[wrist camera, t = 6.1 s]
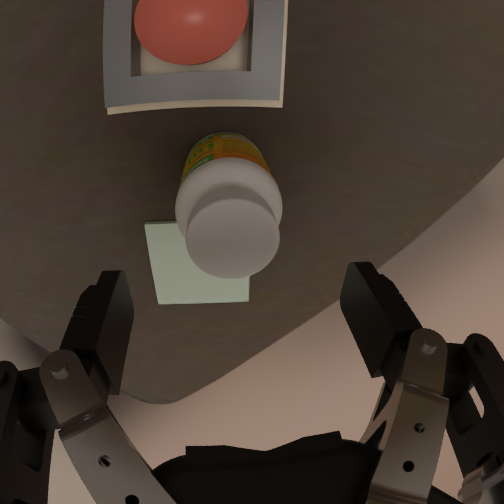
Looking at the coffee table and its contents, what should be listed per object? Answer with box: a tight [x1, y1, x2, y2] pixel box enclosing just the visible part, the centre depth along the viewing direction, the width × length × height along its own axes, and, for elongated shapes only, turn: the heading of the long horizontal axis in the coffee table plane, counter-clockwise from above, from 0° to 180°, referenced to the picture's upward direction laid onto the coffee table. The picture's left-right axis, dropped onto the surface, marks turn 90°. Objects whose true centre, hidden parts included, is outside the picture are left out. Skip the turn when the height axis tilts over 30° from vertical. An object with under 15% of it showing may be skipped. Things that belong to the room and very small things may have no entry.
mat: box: [144, 221, 249, 304], centre depth 25 cm, size 8×8×1 cm
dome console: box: [103, 0, 288, 115], centre depth 14 cm, size 11×11×4 cm
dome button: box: [134, 0, 248, 65], centre depth 13 cm, size 6×6×3 cm
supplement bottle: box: [175, 132, 282, 279], centre depth 17 cm, size 5×5×10 cm
